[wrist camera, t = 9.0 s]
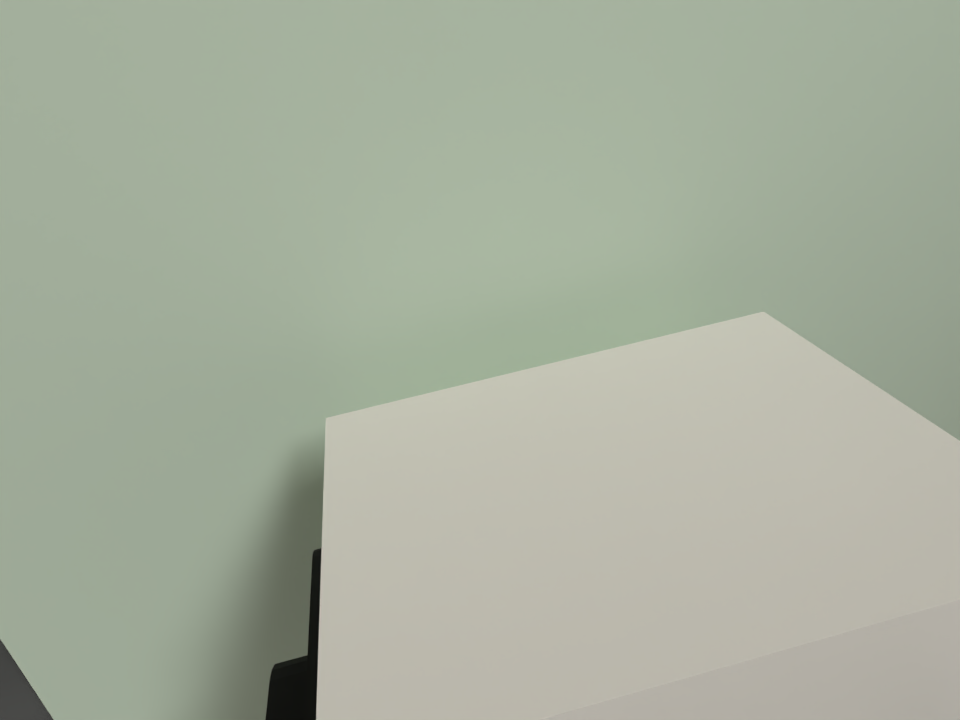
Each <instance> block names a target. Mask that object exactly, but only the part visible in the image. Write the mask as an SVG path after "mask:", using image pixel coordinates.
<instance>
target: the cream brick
mask: <svg viewBox="0 0 960 720" xmlns="http://www.w3.org/2000/svg"><path fill="white" fill-rule="evenodd" d="M316 720H960V441H959V440H958V439H956V438H955V437H953V436H951V435H950V434H948V433H947V432H945V431H944V430H942V429H941V428H939V427H938V426H936V425H935V424H933V423H932V422H930V421H929V420H927V419H926V418H924V417H923V416H921V415H920V414H918V413H917V412H915V411H914V410H912V409H911V408H909V407H908V406H906V405H905V404H903V403H901V402H900V401H898V400H897V399H895V398H894V397H892V396H891V395H889V394H888V393H886V392H885V391H883V390H882V389H880V388H879V387H877V386H876V385H874V384H873V383H871V382H870V381H868V380H867V379H865V378H864V377H862V376H861V375H859V374H858V373H856V372H855V371H853V370H851V369H850V368H848V367H847V366H845V365H844V364H842V363H841V362H839V361H838V360H836V359H835V358H833V357H832V356H830V355H829V354H827V353H826V352H824V351H823V350H821V349H820V348H818V347H817V346H815V345H814V344H812V343H811V342H809V341H808V340H806V339H805V338H803V337H801V336H800V335H798V334H797V333H795V332H794V331H792V330H791V329H789V328H788V327H786V326H785V325H783V324H782V323H780V322H779V321H777V320H776V319H774V318H773V317H771V316H770V315H768V314H767V313H765V312H760V313H755V314H751V315H747V316H743V317H739V318H735V319H731V320H727V321H723V322H718V323H714V324H710V325H706V326H702V327H698V328H694V329H690V330H686V331H681V332H677V333H673V334H669V335H665V336H661V337H657V338H653V339H648V340H644V341H640V342H636V343H632V344H628V345H624V346H620V347H616V348H611V349H607V350H603V351H599V352H595V353H591V354H587V355H583V356H579V357H574V358H570V359H566V360H562V361H558V362H554V363H550V364H546V365H542V366H537V367H533V368H529V369H525V370H521V371H517V372H513V373H509V374H504V375H500V376H496V377H492V378H488V379H484V380H480V381H476V382H472V383H467V384H463V385H459V386H455V387H451V388H447V389H443V390H439V391H435V392H430V393H426V394H422V395H418V396H414V397H410V398H406V399H402V400H398V401H393V402H389V403H385V404H381V405H377V406H373V407H369V408H365V409H360V410H356V411H352V412H348V413H344V414H340V415H336V416H332V417H328V418H326V426H325V457H324V488H323V519H322V549H321V580H320V611H319V642H318V673H317V704H316Z"/></svg>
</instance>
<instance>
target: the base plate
mask: <svg viewBox="0 0 960 720" xmlns="http://www.w3.org/2000/svg"><path fill="white" fill-rule="evenodd" d="M760 312H765V313H767V314H768V315H770V316H771V317H773V318H774V319H776V320H777V321H779V322H780V323H782V324H783V325H785V326H786V327H788V328H789V329H791V330H792V331H794V332H795V333H797V334H798V335H800V336H801V337H803V338H805V339H806V340H808V341H809V342H811V343H812V344H814V345H815V346H817V347H818V348H820V349H821V350H823V351H824V352H826V353H827V354H829V355H830V356H832V357H833V358H835V359H836V360H838V361H839V362H841V363H842V364H844V365H845V366H847V367H848V368H850V369H851V370H853V371H855V372H856V373H858V374H859V375H861V376H862V377H864V378H865V379H867V380H868V381H870V382H871V383H873V384H874V385H876V386H877V387H879V388H880V389H882V390H883V391H885V392H886V393H888V394H889V395H891V396H892V397H894V398H895V399H897V400H898V401H900V402H901V403H903V404H905V405H906V406H908V407H909V408H911V409H912V410H914V411H915V412H917V413H918V414H920V415H921V416H923V417H924V418H926V419H927V420H929V421H930V422H932V423H933V424H935V425H936V426H938V427H939V428H941V429H942V430H944V431H945V432H947V433H948V434H950V435H951V436H953V437H955V438H956V439H958V440H959V441H960V0H0V639H1V641H2V642H3V644H4V645H5V647H6V648H7V650H8V651H9V653H10V654H11V656H12V657H13V659H14V660H15V662H16V663H17V665H18V666H19V668H20V669H21V671H22V672H23V674H24V675H25V677H26V678H27V680H28V681H29V683H30V684H31V686H32V687H33V689H34V690H35V692H36V694H37V695H38V697H39V698H40V700H41V701H42V703H43V704H44V706H45V707H46V709H47V710H48V712H49V713H50V715H51V716H52V718H53V719H54V720H265V719H266V709H267V700H268V690H269V681H270V676H271V670H272V668H273V666H274V665H275V664H277V663H280V662H284V661H288V660H291V659H295V658H299V657H302V656H306V655H307V654H308V633H309V613H310V593H311V572H312V555H313V551H314V550H316V549H320V548H322V519H323V488H324V457H325V426H326V418H328V417H332V416H336V415H340V414H344V413H348V412H352V411H356V410H360V409H365V408H369V407H373V406H377V405H381V404H385V403H389V402H393V401H398V400H402V399H406V398H410V397H414V396H418V395H422V394H426V393H430V392H435V391H439V390H443V389H447V388H451V387H455V386H459V385H463V384H467V383H472V382H476V381H480V380H484V379H488V378H492V377H496V376H500V375H504V374H509V373H513V372H517V371H521V370H525V369H529V368H533V367H537V366H542V365H546V364H550V363H554V362H558V361H562V360H566V359H570V358H574V357H579V356H583V355H587V354H591V353H595V352H599V351H603V350H607V349H611V348H616V347H620V346H624V345H628V344H632V343H636V342H640V341H644V340H648V339H653V338H657V337H661V336H665V335H669V334H673V333H677V332H681V331H686V330H690V329H694V328H698V327H702V326H706V325H710V324H714V323H718V322H723V321H727V320H731V319H735V318H739V317H743V316H747V315H751V314H755V313H760Z"/></svg>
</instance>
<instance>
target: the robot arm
mask: <svg viewBox="0 0 960 720" xmlns="http://www.w3.org/2000/svg"><path fill="white" fill-rule="evenodd" d="M321 549H322V548H320V549H316V550H314V551H313V555H312V572H311V593H310V613H309V633H308V654H307V655H306V656H302V657H299V658H295V659H291V660H288V661H284V662H280V663H277V664H275V665H274V666H273V668H272V670H271V676H270V681H269V690H268V700H267V709H266V719H265V720H316V704H317V673H318V642H319V611H320V580H321Z"/></svg>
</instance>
